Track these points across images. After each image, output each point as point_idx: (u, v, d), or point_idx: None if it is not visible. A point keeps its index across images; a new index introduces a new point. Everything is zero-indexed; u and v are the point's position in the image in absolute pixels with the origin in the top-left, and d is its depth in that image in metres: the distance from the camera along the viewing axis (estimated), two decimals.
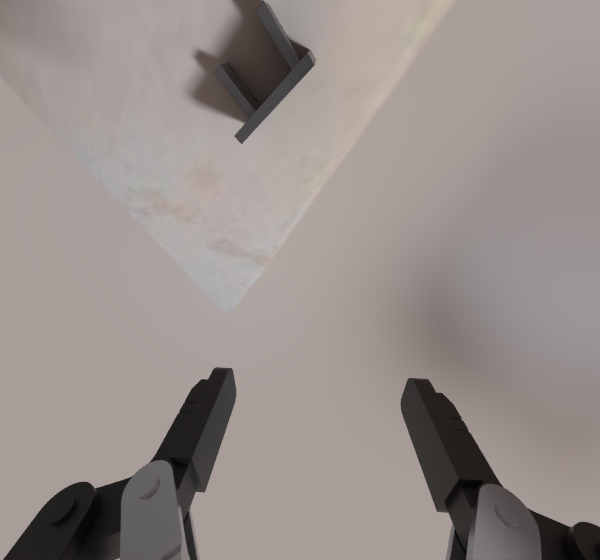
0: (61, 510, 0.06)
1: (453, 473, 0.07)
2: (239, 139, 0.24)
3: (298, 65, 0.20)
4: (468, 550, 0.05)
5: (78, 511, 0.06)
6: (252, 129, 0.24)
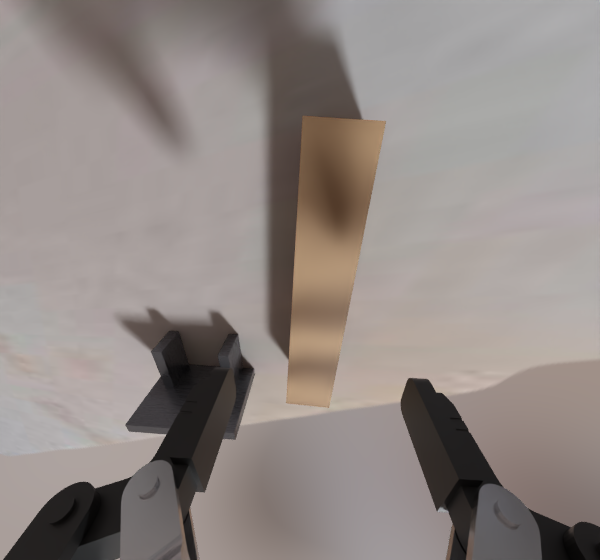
0: (61, 510, 0.06)
1: (453, 473, 0.07)
2: (129, 428, 0.20)
3: None
4: (468, 550, 0.05)
5: (78, 511, 0.06)
6: (149, 431, 0.21)
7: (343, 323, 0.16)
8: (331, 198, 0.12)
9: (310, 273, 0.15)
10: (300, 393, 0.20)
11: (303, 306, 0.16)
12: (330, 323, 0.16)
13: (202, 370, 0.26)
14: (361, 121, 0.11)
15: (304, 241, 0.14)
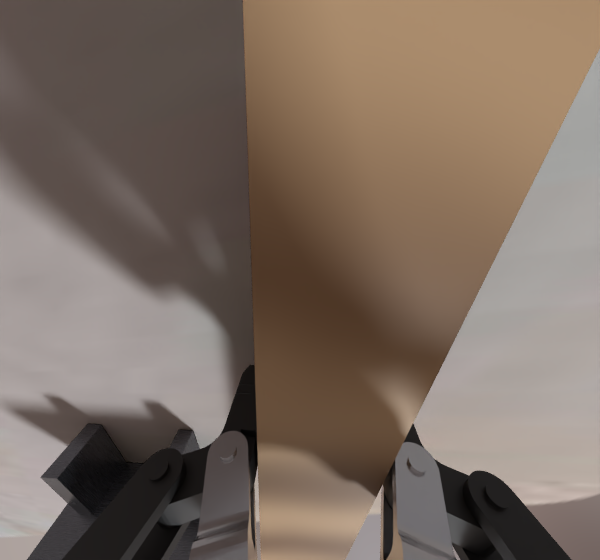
0: (158, 470, 0.06)
1: None
2: None
3: None
4: (394, 513, 0.06)
5: (171, 472, 0.06)
6: None
7: (368, 502, 0.08)
8: (357, 277, 0.04)
9: (295, 431, 0.06)
10: None
11: (284, 476, 0.07)
12: (342, 500, 0.08)
13: None
14: None
15: (279, 374, 0.05)
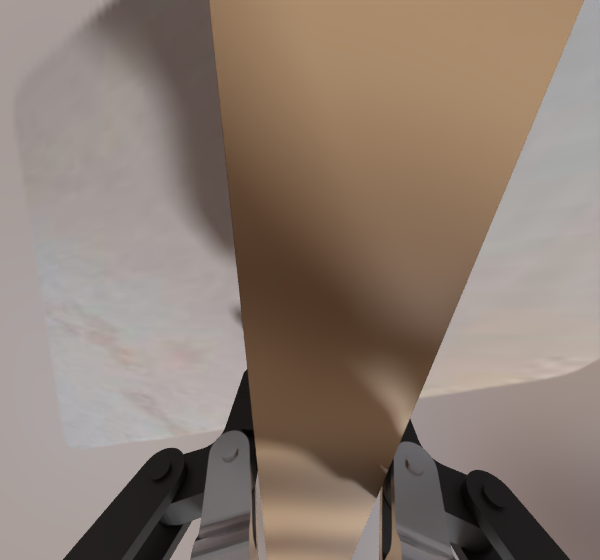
0: (160, 470, 0.06)
1: None
2: None
3: None
4: (392, 513, 0.06)
5: (173, 472, 0.06)
6: None
7: (370, 501, 0.08)
8: (342, 276, 0.04)
9: (292, 431, 0.06)
10: None
11: (284, 477, 0.07)
12: (343, 500, 0.08)
13: None
14: None
15: (272, 375, 0.05)
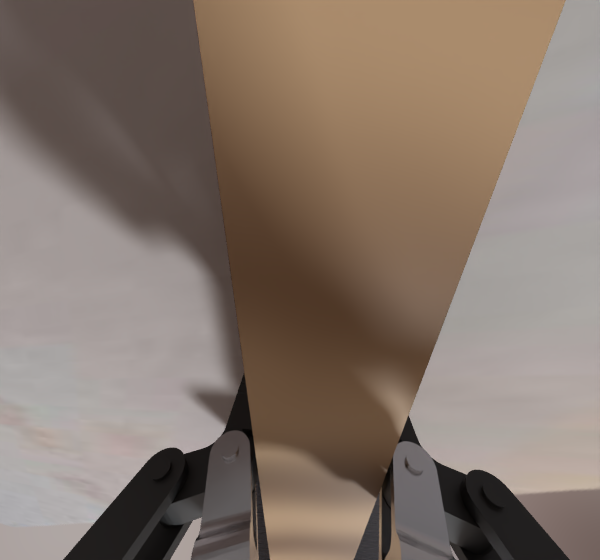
0: (160, 470, 0.06)
1: None
2: None
3: None
4: (392, 513, 0.06)
5: (174, 472, 0.06)
6: None
7: (371, 500, 0.08)
8: (335, 274, 0.04)
9: (290, 430, 0.06)
10: None
11: (284, 477, 0.07)
12: (344, 499, 0.08)
13: None
14: None
15: (269, 374, 0.05)
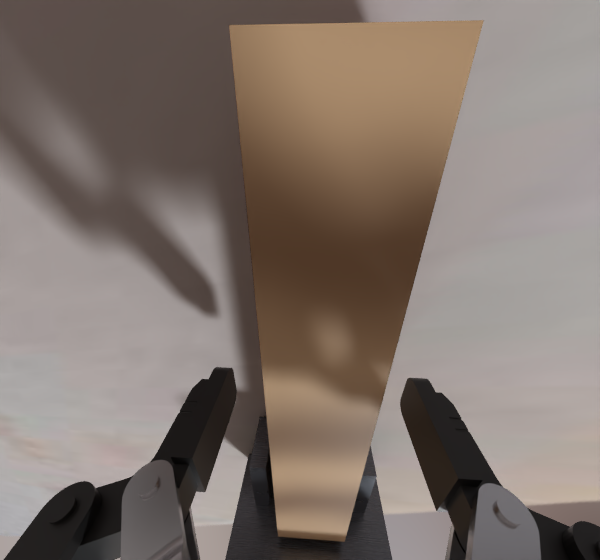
0: (62, 510, 0.06)
1: (452, 473, 0.07)
2: None
3: None
4: (467, 549, 0.05)
5: (79, 511, 0.06)
6: None
7: (364, 451, 0.09)
8: (329, 244, 0.05)
9: (295, 383, 0.07)
10: (299, 527, 0.13)
11: (289, 430, 0.09)
12: (341, 451, 0.09)
13: None
14: (406, 28, 0.04)
15: (278, 331, 0.06)
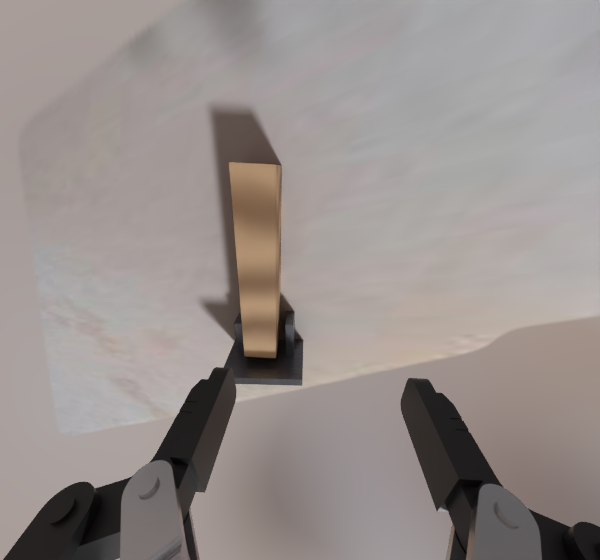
0: (61, 510, 0.06)
1: (453, 473, 0.07)
2: None
3: (292, 380, 0.27)
4: (468, 550, 0.05)
5: (78, 511, 0.06)
6: (236, 382, 0.27)
7: (274, 290, 0.24)
8: (252, 208, 0.21)
9: (246, 256, 0.23)
10: (253, 347, 0.28)
11: (246, 279, 0.24)
12: (265, 290, 0.24)
13: None
14: (262, 164, 0.19)
15: (240, 235, 0.22)
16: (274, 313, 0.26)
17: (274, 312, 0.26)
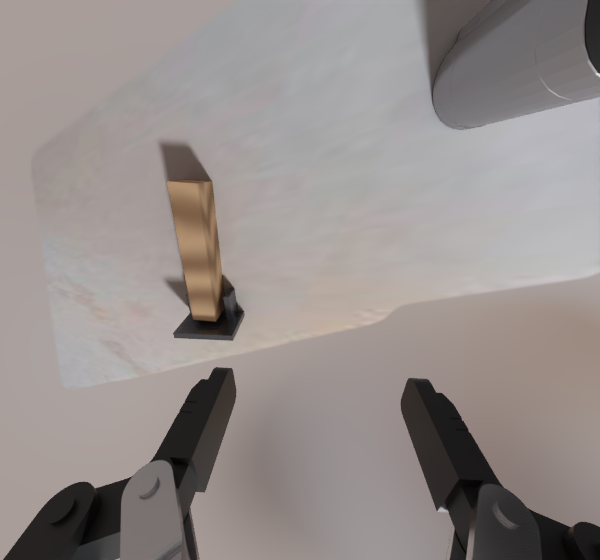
0: (61, 510, 0.06)
1: (453, 473, 0.07)
2: (175, 335, 0.38)
3: (225, 336, 0.37)
4: (468, 550, 0.05)
5: (78, 511, 0.06)
6: (186, 337, 0.38)
7: (207, 269, 0.34)
8: (185, 211, 0.31)
9: (185, 244, 0.33)
10: (199, 312, 0.38)
11: (187, 261, 0.34)
12: (202, 269, 0.34)
13: None
14: (188, 183, 0.29)
15: (179, 229, 0.32)
16: (210, 286, 0.36)
17: (210, 285, 0.36)
